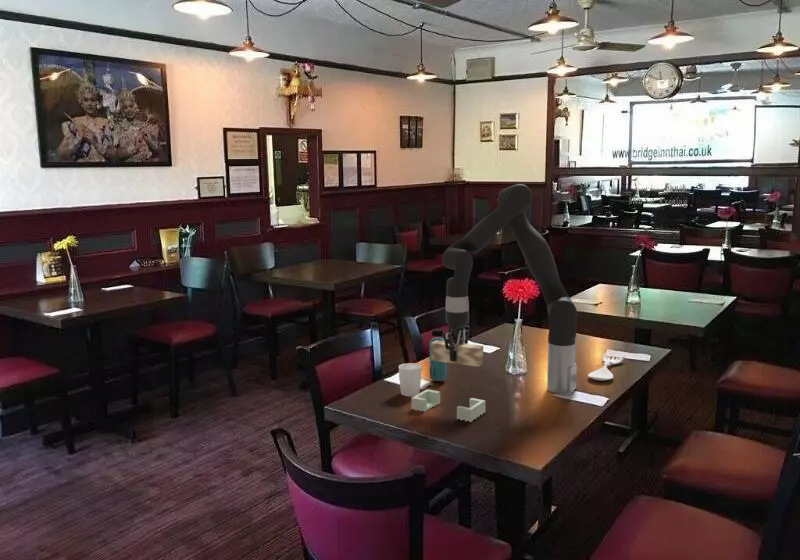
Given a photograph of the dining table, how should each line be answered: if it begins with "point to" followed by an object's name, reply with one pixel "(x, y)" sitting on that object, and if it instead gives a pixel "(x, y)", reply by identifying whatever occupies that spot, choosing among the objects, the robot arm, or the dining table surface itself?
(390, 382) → the dining table surface
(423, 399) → the end cap
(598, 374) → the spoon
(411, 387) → the white cup
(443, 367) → the beverage bottle
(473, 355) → the wooden block
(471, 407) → the end cap
